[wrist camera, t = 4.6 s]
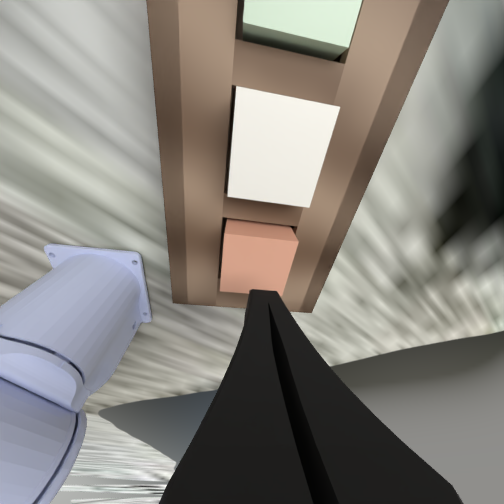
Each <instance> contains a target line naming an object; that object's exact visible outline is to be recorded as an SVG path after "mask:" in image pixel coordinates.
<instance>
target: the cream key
mask: <svg viewBox="0 0 504 504" xmlns="http://www.w3.org/2000/svg"><path fill="white" fill-rule="evenodd" d="M339 110H340V107H338V106H333V105H328V104H323V103H318V102H313V101H308V100H303V99H298V98H294V97H289V96H284V95H279V94H274V93H269V92H264V91H259V90H254V89H249V88H244V87H239V86H236V98H235V110H234V122H233V134H232V147H231V159H230V171H229V183H228V196H227V197H234V198H241V199H249V200H256V201H263V202H271V203H278V204H286V205H293V206H300V207H308V208H309V207H310V204H311V201H312V197H313V194H314V191H315V188H316V184H317V181H318V178H319V175H320V171H321V168H322V165H323V162H324V158H325V155H326V152H327V149H328V145H329V142H330V139H331V136H332V132H333V129H334V126H335V123H336V119H337V116H338V113H339Z"/></svg>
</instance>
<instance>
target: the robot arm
mask: <svg viewBox="0 0 504 504" xmlns="http://www.w3.org/2000/svg"><path fill="white" fill-rule="evenodd" d="M44 250H45V252H46V255H47V257H48V259H49V261H50V263H51V265H52V267H53V270H51V271H50V272H48V273H47V274H45V275H44V276H43V277H41V278H40V279H38V280H37V281H35V282H34V283H33V284H31V285H30V286H28V287H27V288H25V289H24V290H23V291H21V292H20V293H18V294H17V295H15V296H14V297H13V298H11V299H10V300H8V301H7V302H6V303H4V304H3V305H1V306H0V504H50V503H51V501H52V500H53V498H54V497H55V496H56V494H57V492H58V491H59V490H60V488H61V486H62V485H63V483H64V482H65V480H66V478H67V476H68V475H69V473H70V471H71V469H72V467H73V465H74V463H75V461H76V458H77V456H78V453H79V451H80V448H81V446H82V443H83V440H84V436H85V432H86V427H87V418H86V414H85V412H84V411H83V409H81V408H82V406H83V405H84V403H85V401H86V400H87V398H88V396H90V395H91V394H93V393H94V392H96V391H97V390H98V389H99V388H100V387H102V386H103V385H104V384H105V383H106V382H107V381H108V380H109V378H110V377H111V376H112V375H113V373H114V372H115V370H116V368H117V366H118V364H119V363H120V361H121V359H122V357H123V355H124V353H125V352H126V350H127V348H128V346H129V344H130V342H131V340H132V339H133V337H134V335H135V333H136V331H137V329H138V328H139V326H140V324H141V322H145V323H148V322H150V321H151V319H152V315H151V310H150V304H149V298H148V292H147V287H146V281H145V275H144V270H143V264H142V258H141V255H140V254H139V253H137V252H132V251H122V250H112V249H102V248H91V247H81V246H71V245H61V244H48V245H46V246H44ZM134 260H135V261H137V262H138V263H137V262H135V261H134ZM159 504H463V502H462V500H461V499H460V497H459V495H458V494H457V493H456V491H455V489H454V488H453V486H452V485H451V484H450V483H449V482H448V481H447V480H445V479H444V478H443V477H442V476H441V475H440V474H438V473H437V472H436V471H435V470H434V469H433V468H432V467H431V466H430V465H428V464H427V463H426V462H425V461H424V460H423V459H422V458H420V457H419V456H418V455H417V454H416V453H415V452H414V451H412V450H411V449H410V448H409V447H408V446H407V445H406V444H405V443H403V442H402V441H401V440H400V439H399V438H398V437H397V436H396V435H395V434H394V433H393V432H392V431H391V430H390V429H389V428H388V427H386V425H384V424H383V423H382V422H381V421H380V420H379V419H378V418H377V417H376V416H375V415H374V414H373V413H372V412H371V411H370V410H369V409H368V408H367V407H366V406H365V405H364V404H363V403H362V402H361V401H360V400H359V398H358V397H357V396H356V395H355V394H353V392H352V391H351V390H350V389H349V388H348V387H347V386H346V385H345V384H344V383H343V382H342V381H341V379H340V378H339V377H338V376H337V375H336V374H335V373H334V371H333V370H332V369H331V368H330V367H329V365H328V364H327V363H326V362H325V361H324V359H323V358H322V357H321V356H320V354H319V353H318V352H317V351H316V349H315V348H314V347H313V345H312V344H311V343H310V341H309V340H308V339H307V337H306V336H305V334H304V333H303V331H302V330H301V329H300V327H299V326H298V324H297V323H296V321H295V320H294V318H293V317H292V315H291V313H290V312H289V310H288V309H287V307H286V305H285V304H284V302H283V300H282V298H281V297H280V295H279V293H278V292H277V291H271V290H259V289H251V290H250V291H249V296H248V301H247V307H246V312H245V321H244V327H243V330H242V333H241V336H240V339H239V342H238V344H237V347H236V350H235V352H234V355H233V357H232V360H231V362H230V364H229V367H228V369H227V371H226V373H225V376H224V378H223V380H222V382H221V384H220V387H219V389H218V391H217V393H216V395H215V397H214V399H213V401H212V403H211V405H210V407H209V409H208V411H207V413H206V415H205V417H204V419H203V420H202V422H201V425H200V426H199V429H198V430H197V432H196V434H195V436H194V438H193V440H192V442H191V443H190V445H189V447H188V449H187V450H186V453H185V454H184V456H183V458H182V459H181V461H180V463H179V465H178V467H177V468H176V470H175V472H174V474H173V475H172V477H171V479H170V481H169V483H168V484H167V486H166V489H165V491H164V493H163V496H162V498H161V500H160V502H159Z"/></svg>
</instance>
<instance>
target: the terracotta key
mask: <svg viewBox="0 0 504 504" xmlns="http://www.w3.org/2000/svg"><path fill="white" fill-rule="evenodd" d="M298 243H299V241H298V239H297V238H296V236H295V234H294V232H293V230H292V228H291V226H290V225H283V224H274V223H266V222H258V221H250V220H242V219H234V218H227V222H226V227H225V233H224V244H223V257H222V269H221V281H220V291H222V292H235V293H247V294H249V291H250V290H251V289H259V290H271V291H277V292H278V293H279V295H280V296H282V295H283V292H284V288H285V285H286V282H287V279H288V275H289V272H290V269H291V266H292V262H293V259H294V256H295V253H296V249H297V246H298Z"/></svg>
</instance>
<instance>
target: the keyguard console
mask: <svg viewBox="0 0 504 504" xmlns="http://www.w3.org/2000/svg"><path fill="white" fill-rule="evenodd" d="M146 1H147V13H148V24H149V35H150V47H151V58H152V70H153V81H154V93H155V104H156V116H157V127H158V138H159V150H160V161H161V173H162V184H163V196H164V207H165V219H166V230H167V242H168V253H169V264H170V276H171V287H172V299H173V303H176V304H190V305H205V306H219V307H233V308H246V307H247V301H248V296H249V294H247V293H235V292H222V291H220V281H221V269H222V257H223V244H224V233H225V227H226V222H227V218H234V219H242V220H250V221H258V222H266V223H274V224H283V225H290V226H291V228H292V230H293V232H294V234H295V236H296V238H297V239H298V241H299V243H298V246H297V249H296V253H295V256H294V259H293V262H292V266H291V269H290V272H289V275H288V279H287V282H286V285H285V288H284V292H283V295H282V296H280V297H281V298H282V300H283V302H284V304H285V305H286V307H287V309H288V310H289V311H290V312H304V313H312V311H313V309H314V306H315V304H316V302H317V300H318V297H319V295H320V293H321V290H322V288H323V286H324V284H325V281H326V279H327V277H328V275H329V272H330V270H331V268H332V265H333V263H334V261H335V259H336V256H337V254H338V252H339V250H340V247H341V245H342V243H343V240H344V238H345V236H346V234H347V231H348V229H349V227H350V225H351V222H352V220H353V218H354V216H355V213H356V211H357V209H358V206H359V204H360V202H361V200H362V197H363V195H364V193H365V191H366V188H367V186H368V184H369V181H370V179H371V177H372V175H373V172H374V170H375V168H376V166H377V163H378V161H379V159H380V156H381V154H382V152H383V150H384V147H385V145H386V143H387V141H388V138H389V136H390V134H391V131H392V129H393V127H394V125H395V122H396V120H397V118H398V116H399V113H400V111H401V109H402V106H403V104H404V102H405V100H406V97H407V95H408V93H409V91H410V88H411V86H412V84H413V81H414V79H415V77H416V75H417V72H418V70H419V68H420V66H421V63H422V61H423V59H424V57H425V54H426V52H427V50H428V47H429V45H430V43H431V41H432V38H433V36H434V34H435V32H436V29H437V27H438V25H439V22H440V20H441V18H442V16H443V13H444V11H445V9H446V7H447V4H448V2H449V0H362V3H361V6H360V10H359V13H358V17H357V20H356V24H355V27H354V31H353V34H352V37H351V41H350V44H349V48H348V49H346V50H345V51H344V52H343V53H342V54H340V55H339V56H338V57H337V58H336V59H334V60H333V61H329V60H325V59H321V58H316V57H312V56H308V55H303V54H299V53H294V52H290V51H286V50H281V49H277V48H273V47H268V46H264V45H260V44H255V43H251V42H246V41H243V14H244V2H245V0H146ZM236 86H239V87H244V88H249V89H254V90H259V91H264V92H269V93H274V94H279V95H284V96H289V97H294V98H298V99H303V100H308V101H313V102H318V103H323V104H328V105H333V106H338V107H340V110H339V113H338V116H337V119H336V123H335V126H334V129H333V132H332V136H331V139H330V142H329V145H328V149H327V152H326V155H325V158H324V162H323V165H322V168H321V171H320V175H319V178H318V181H317V184H316V188H315V191H314V194H313V197H312V201H311V204H310V207H309V208H308V207H300V206H293V205H286V204H278V203H271V202H263V201H256V200H249V199H241V198H234V197H227V196H228V183H229V171H230V159H231V147H232V134H233V122H234V110H235V98H236Z"/></svg>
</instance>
